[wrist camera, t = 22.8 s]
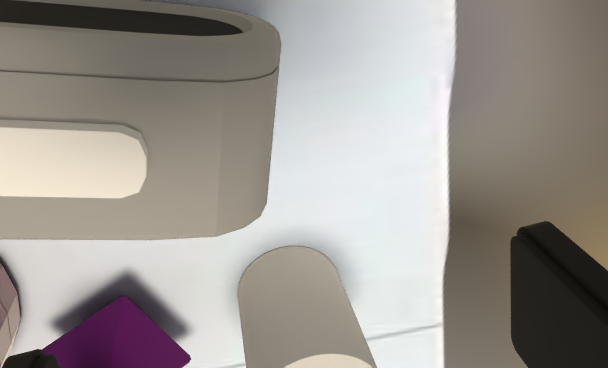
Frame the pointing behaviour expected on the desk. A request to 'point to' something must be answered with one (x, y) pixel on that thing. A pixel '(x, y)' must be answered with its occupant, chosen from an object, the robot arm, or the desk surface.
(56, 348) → the perfume bottle
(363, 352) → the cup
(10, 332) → the bowl
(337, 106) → the desk surface
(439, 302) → the desk surface
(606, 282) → the robot arm
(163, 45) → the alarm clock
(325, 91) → the desk surface
